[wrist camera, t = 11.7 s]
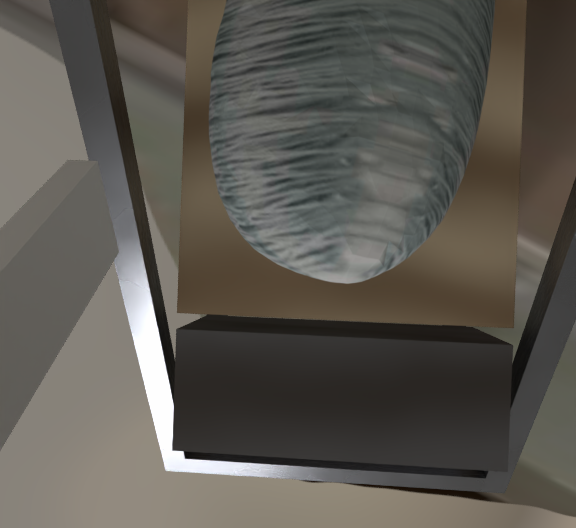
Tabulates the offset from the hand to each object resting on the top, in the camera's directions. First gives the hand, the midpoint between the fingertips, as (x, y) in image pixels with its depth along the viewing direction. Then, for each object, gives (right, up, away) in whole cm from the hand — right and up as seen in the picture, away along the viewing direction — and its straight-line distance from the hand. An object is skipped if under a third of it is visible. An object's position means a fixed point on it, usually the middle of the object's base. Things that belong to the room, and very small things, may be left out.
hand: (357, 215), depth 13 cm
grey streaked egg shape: (+1, +5, +9) cm, 10 cm away
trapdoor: (+1, +1, +15) cm, 15 cm away
